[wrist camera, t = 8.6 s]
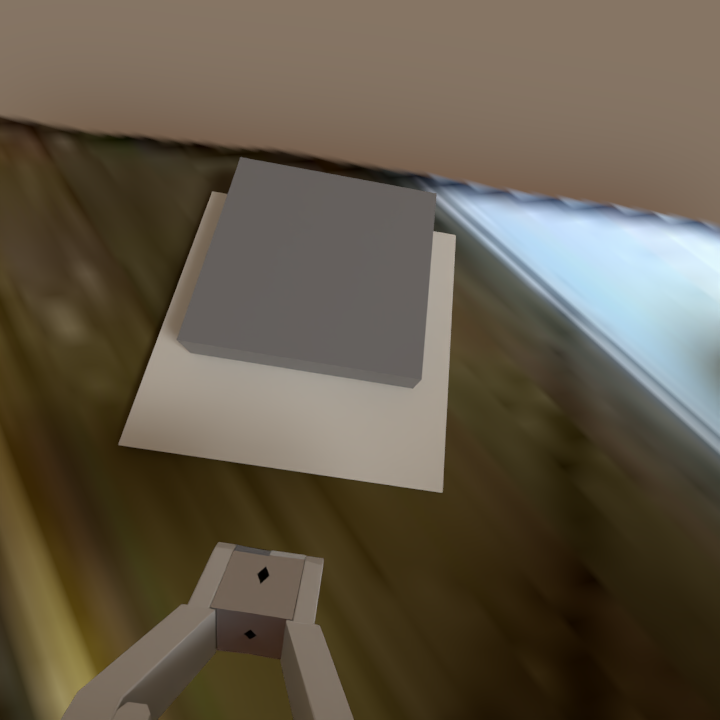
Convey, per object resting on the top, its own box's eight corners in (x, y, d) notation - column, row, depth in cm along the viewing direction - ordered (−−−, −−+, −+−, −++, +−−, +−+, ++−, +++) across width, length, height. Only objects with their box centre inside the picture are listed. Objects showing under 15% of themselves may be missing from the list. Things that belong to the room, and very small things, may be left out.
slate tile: (421, 379, 17) (436, 193, 21) (176, 339, 16) (240, 157, 20) (412, 389, 19) (427, 217, 23) (191, 354, 18) (247, 184, 22)
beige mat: (438, 492, 18) (442, 492, 17) (124, 446, 17) (117, 445, 16) (452, 241, 23) (455, 235, 23) (215, 198, 22) (212, 191, 22)
